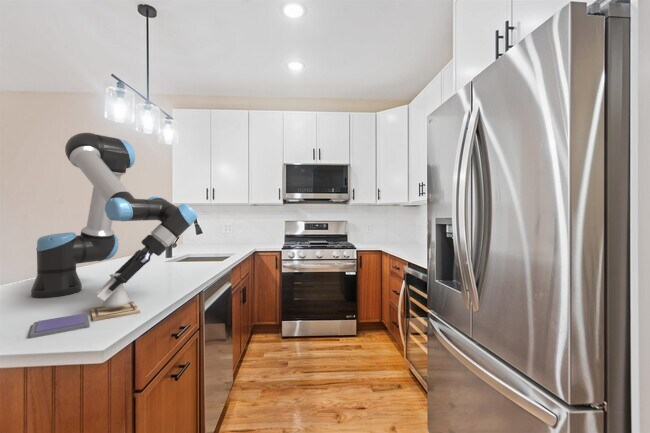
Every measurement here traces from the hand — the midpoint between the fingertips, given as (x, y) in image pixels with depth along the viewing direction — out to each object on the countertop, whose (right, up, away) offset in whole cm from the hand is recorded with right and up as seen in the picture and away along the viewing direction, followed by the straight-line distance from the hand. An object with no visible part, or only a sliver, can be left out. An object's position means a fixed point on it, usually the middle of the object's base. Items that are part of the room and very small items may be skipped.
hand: (100, 296), depth 97 cm
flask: (+3, -4, +3) cm, 6 cm away
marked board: (+3, -5, +2) cm, 7 cm away
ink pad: (-3, -6, -10) cm, 12 cm away
